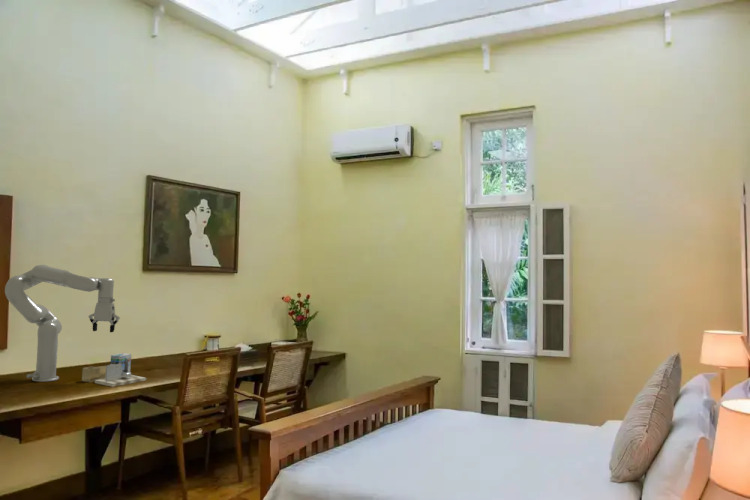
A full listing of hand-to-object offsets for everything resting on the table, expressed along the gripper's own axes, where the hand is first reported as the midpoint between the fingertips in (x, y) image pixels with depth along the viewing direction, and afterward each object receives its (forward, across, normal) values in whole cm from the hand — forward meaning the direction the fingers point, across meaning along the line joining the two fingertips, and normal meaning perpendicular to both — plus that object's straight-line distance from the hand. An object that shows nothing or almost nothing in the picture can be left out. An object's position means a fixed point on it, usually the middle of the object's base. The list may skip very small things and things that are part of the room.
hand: (103, 331), depth 328 cm
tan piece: (+26, +1, +2) cm, 26 cm away
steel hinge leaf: (+25, -12, +4) cm, 28 cm away
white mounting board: (+26, -13, +3) cm, 29 cm away
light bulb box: (+27, -1, -20) cm, 33 cm away
